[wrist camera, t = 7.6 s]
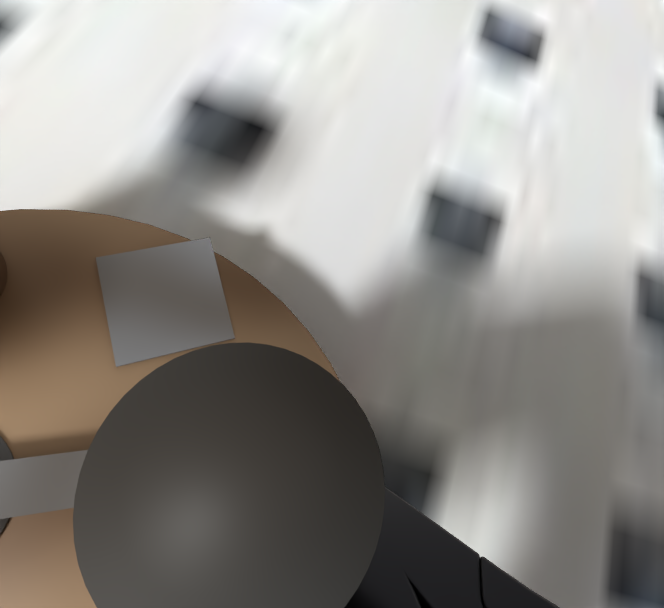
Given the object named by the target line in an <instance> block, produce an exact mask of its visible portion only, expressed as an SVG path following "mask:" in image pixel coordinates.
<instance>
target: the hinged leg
mask: <svg viewBox="0 0 664 608" xmlns="http://www.w3.org/2000/svg"><path fill="white" fill-rule="evenodd" d="M384 501H385V484H384V472H383V465H382V460H381V455H380V451H379V447H378V444H377V441H376V438H375V435H374V432H373V430H372V428H371V426H370V424H369V422H368V420H367V417H366V415H365V414H364V412H363V411H362V409H361V407H360V406H359V404H358V403H357V401H356V400H355V398H354V397H353V396H352V395H351V394H350V392H349V391H348V390H347V389H346V388H345V386H344V385H343V384H342V383H341V382H339V381H338V380H337V379H336V378H335V377H334V376H333V375H332V374H331V373H329V372H328V371H327V370H325V369H324V368H323V367H321V366H320V365H318V364H317V363H315V362H313V361H311V360H310V359H308V358H306V357H304V356H302V355H300V354H297V353H295V352H292V351H289V350H287V349H284V348H280V347H276V346H272V345H267V344H259V343H249V342H247V343H226V344H219V345H212V346H208V347H205V348H201V349H197V350H194V351H191V352H189V353H186V354H184V355H181V356H179V357H176V358H174V359H172V360H171V361H169V362H167V363H165V364H163V365H162V366H160V367H158V368H156V369H155V370H154V371H152V372H151V373H150V374H148V375H147V376H145V377H144V378H143V379H141V380H140V381H139V382H138V383H137V384H136V385H135V386H134V387H132V388H131V389H130V390H129V391H128V392H127V393H126V394H125V395H124V396H123V397H122V398H121V400H120V401H119V402H118V403H117V404H116V405H115V407H114V408H113V409H112V410H111V411H110V413H109V414H108V416H107V417H106V419H105V420H104V422H103V423H102V425H101V426H100V428H99V429H98V431H97V433H96V435H95V437H94V439H93V441H92V443H91V445H90V447H89V449H88V450H82V451H74V452H67V453H59V454H51V455H43V456H35V457H27V458H19V459H12V460H4V461H0V519H5V518H11V517H17V516H24V515H30V514H37V513H43V512H50V511H56V510H63V509H69V508H74V510H73V534H74V545H75V550H76V556H77V561H78V565H79V568H80V571H81V574H82V577H83V580H84V583H85V586H86V588H87V590H88V592H89V594H90V596H91V598H92V600H93V601H94V603H95V605H96V607H97V608H344V607H345V606H346V605H347V603H348V602H349V600H350V599H351V597H352V596H353V595H354V593H355V592H356V590H357V589H358V587H359V585H360V583H361V581H362V580H363V578H364V576H365V574H366V572H367V570H368V568H369V565H370V563H371V560H372V558H373V555H374V553H375V550H376V547H377V543H378V539H379V536H380V532H381V527H382V521H383V514H384Z"/></svg>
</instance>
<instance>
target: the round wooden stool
mask: <svg viewBox="0 0 664 608" xmlns="http://www.w3.org/2000/svg"><path fill="white" fill-rule="evenodd" d="M247 342H249V343H259V344H267V345H272V346H276V347H280V348H284V349H287V350H289V351H292V352H295V353H297V354H300V355H302V356H304V357H306V358H308V359H310V360H311V361H313V362H315V363H317V364H318V365H320V366H321V367H323V368H324V369H325V370H327V371H328V372H329V373H331V374H332V375H333V376H334V377H335V378H336V379H337V380H338V381H339V379H338V377H337V375H336V373H335V371H334V369H333V367H332V365H331V363H330V362H329V360H328V359H327V357H326V356H325V355H324V353H323V352H322V350H321V349H320V347H319V346H318V344H317V343H316V341H315V340H314V338H313V337H312V335H311V334H310V333H309V331H308V330H307V329H306V328H305V327H304V326H303V324H302V323H301V322H300V321H299V320H298V319H297V318H296V317H295V315H294V314H293V313H292V312H291V311H290V310H289V309H288V308H287V306H286V305H285V304H284V303H283V302H282V301H281V300H279V299H278V298H277V297H276V296H275V295H274V294H273V293H271V292H270V291H269V290H268V289H267V288H266V287H265V286H263V285H262V284H261V283H260V282H259V281H258V280H257V279H255V278H254V277H253V276H251V275H250V274H248V273H247V272H245V271H244V270H242V269H241V268H239V267H238V266H236V265H235V264H233V263H232V262H230V261H229V260H227V259H226V258H224V257H223V256H221V255H219V254H217V253H215V252H214V251H213V247H212V243H211V239H210V237H209V238H204V239H198V240H192V241H191V240H189V239H187V238H185V237H182V236H179V235H176V234H174V233H171V232H168V231H165V230H163V229H160V228H157V227H154V226H152V225H148V224H144V223H140V222H136V221H131V220H127V219H123V218H119V217H115V216H111V215H103V214H95V213H87V212H79V211H71V210H35V209H19V210H7V211H0V461H4V460H12V459H19V458H27V457H35V456H43V455H51V454H59V453H67V452H74V451H82V450H88V449H89V447H90V445H91V443H92V441H93V439H94V437H95V435H96V433H97V431H98V429H99V428H100V426H101V425H102V423H103V422H104V420H105V419H106V417H107V416H108V414H109V413H110V411H111V410H112V409H113V408H114V407H115V405H116V404H117V403H118V402H119V401H120V400H121V398H122V397H123V396H124V395H125V394H126V393H127V392H128V391H129V390H130V389H131V388H132V387H134V386H135V385H136V384H137V383H138V382H139V381H140V380H141V379H143V378H144V377H145V376H147V375H148V374H150V373H151V372H152V371H154V370H155V369H156V368H158V367H160V366H162V365H163V364H165V363H167V362H169V361H171V360H172V359H174V358H176V357H179V356H181V355H184V354H186V353H189V352H191V351H194V350H197V349H201V348H205V347H208V346H212V345H219V344H226V343H247ZM339 382H340V381H339ZM73 510H74V508H69V509H63V510H56V511H50V512H43V513H37V514H30V515H24V516H17V517H11V518H5V519H0V608H97V607H96V605H95V603H94V601H93V600H92V598H91V596H90V594H89V592H88V590H87V588H86V586H85V583H84V580H83V577H82V574H81V571H80V568H79V565H78V561H77V556H76V550H75V545H74V534H73Z"/></svg>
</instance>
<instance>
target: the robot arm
mask: <svg viewBox="0 0 664 608" xmlns="http://www.w3.org/2000/svg"><path fill="white" fill-rule="evenodd" d="M344 608H560V607H558V606H556V605H555V604H553V603H552V602H550V601H548V600H547V599H545V598H543V597H542V596H540V595H539V594H537V593H535V592H534V591H532V590H531V589H529V588H528V587H526V586H525V585H523V584H522V583H520V582H519V581H517V580H516V579H515V578H513V577H512V576H510V575H509V574H507V573H506V572H504V571H503V570H501V569H500V568H499V567H497V566H496V565H494V564H493V563H492V562H490V561H489V560H487V559H486V558H485V557H480V556H479V554H478V553H477V552H475V551H474V550H473V549H471V548H470V547H468V546H467V545H466V544H464V543H463V542H461V541H460V540H459V539H457V538H456V537H454V536H453V535H452V534H450V533H449V532H447V531H446V530H445V529H443V528H442V527H441V526H439V525H438V524H436V523H435V522H434V521H432V520H431V519H429V518H428V517H427V516H425V515H424V514H422V513H421V512H420V511H418V510H417V509H416V508H414V507H413V506H411V505H410V504H409V503H407V502H406V501H404V500H403V499H402V498H400V497H399V496H397V495H396V494H395V493H393V492H392V491H390V490H389V489H388V488H386V487H385V501H384V514H383V521H382V527H381V532H380V536H379V539H378V543H377V547H376V550H375V553H374V555H373V558H372V560H371V563H370V565H369V568H368V570H367V572H366V574H365V576H364V578H363V580H362V581H361V583H360V585H359V587H358V589H357V590H356V592H355V593H354V595H353V596H352V597H351V599H350V600H349V602H348V603H347V605H346V606H345V607H344Z"/></svg>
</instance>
